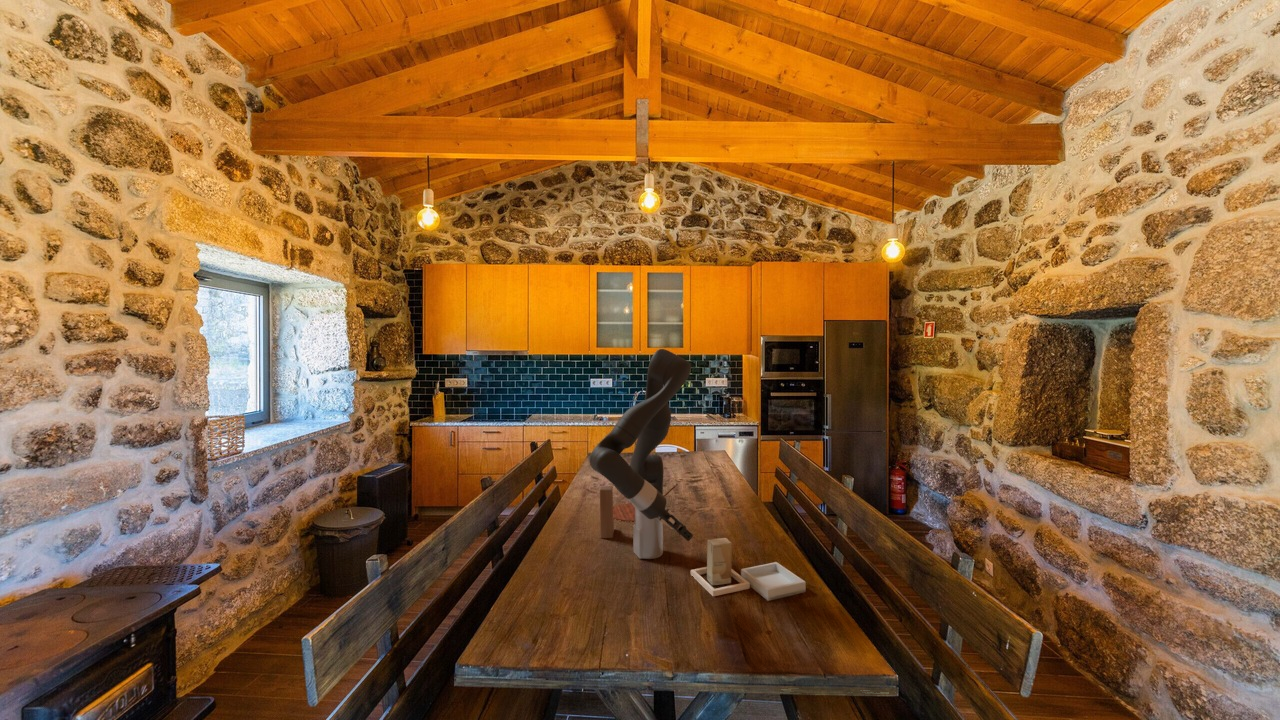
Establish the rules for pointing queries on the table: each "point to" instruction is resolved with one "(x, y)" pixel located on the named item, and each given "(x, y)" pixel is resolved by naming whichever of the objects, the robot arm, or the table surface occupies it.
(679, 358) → the robot arm
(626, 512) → the incense holder
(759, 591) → the tray
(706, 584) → the holder
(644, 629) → the table surface
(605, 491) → the wooden block
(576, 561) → the table surface
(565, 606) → the table surface
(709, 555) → the skincare box
